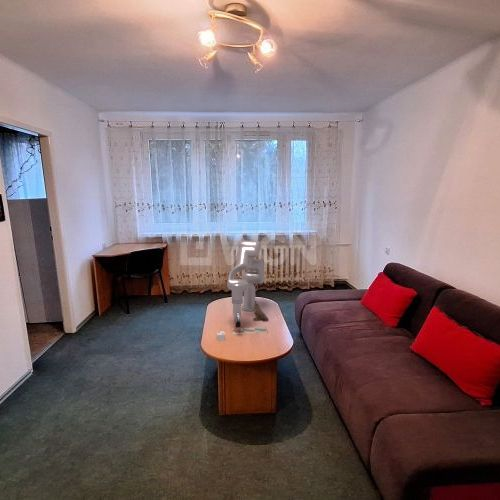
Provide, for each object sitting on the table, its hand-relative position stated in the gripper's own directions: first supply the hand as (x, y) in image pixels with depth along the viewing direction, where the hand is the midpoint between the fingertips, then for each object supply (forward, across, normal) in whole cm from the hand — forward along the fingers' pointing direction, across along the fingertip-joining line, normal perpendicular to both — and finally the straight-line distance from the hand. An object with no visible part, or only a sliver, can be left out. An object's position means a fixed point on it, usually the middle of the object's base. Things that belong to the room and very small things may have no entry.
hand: (237, 324), depth 221 cm
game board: (+6, 0, +8) cm, 10 cm away
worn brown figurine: (+6, -18, +19) cm, 27 cm away
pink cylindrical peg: (+5, 0, 0) cm, 5 cm away
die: (+6, +10, -12) cm, 16 cm away
